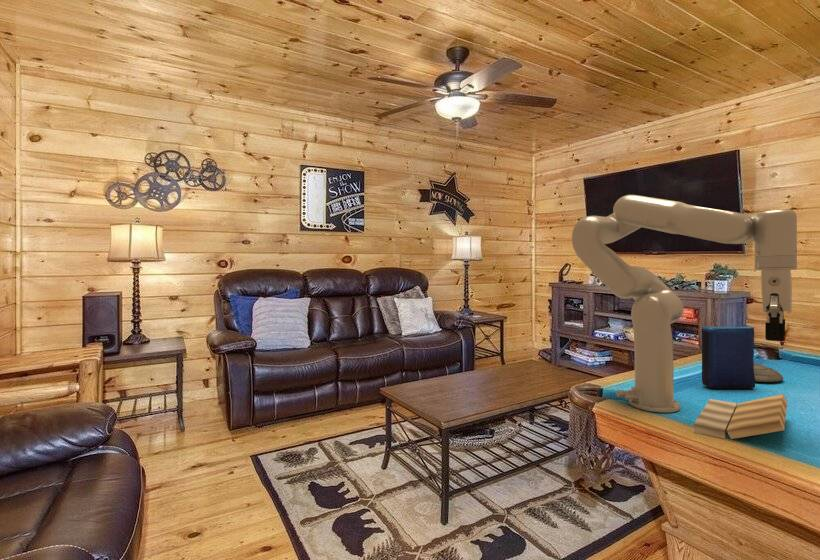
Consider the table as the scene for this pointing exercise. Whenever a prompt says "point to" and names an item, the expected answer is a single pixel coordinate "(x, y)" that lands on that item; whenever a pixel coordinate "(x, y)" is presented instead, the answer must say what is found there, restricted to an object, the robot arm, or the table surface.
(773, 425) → the oak plank
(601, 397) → the table surface
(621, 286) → the robot arm
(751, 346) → the book
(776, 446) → the table surface
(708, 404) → the ash board
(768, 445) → the table surface
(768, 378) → the flying saucer
